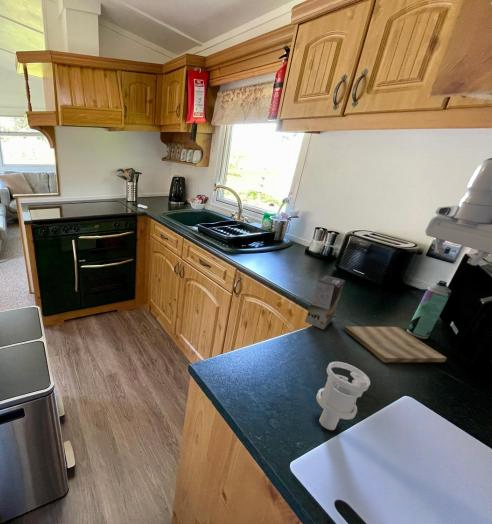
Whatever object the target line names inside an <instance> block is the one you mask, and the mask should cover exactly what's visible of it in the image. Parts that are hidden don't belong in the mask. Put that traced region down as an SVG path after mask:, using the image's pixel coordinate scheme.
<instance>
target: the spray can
mask: <svg viewBox="0 0 492 524" xmlns="http://www.w3.org/2000/svg"><path fill="white" fill-rule="evenodd" d="M447 284H448V282H447V281H445V280H439V281H438V282H437V283H435V284H434V283H433V284H429V285H428V286H427V288H426V290H425V292H424V294H423V296H422V298H421V299H420V302H419V305H418V306H417V308H416V311H415V313H414V315H413V316H412V319H411V321H410V323H409V325H408V327H407V329H406V332H407V333H408V334H410V335H411V336H413V337H415V338H417V339H418V338H419V339H422V340H423V339H424V340H426V339H428V338H429V336H430V334H431V332H432V330H433V329H434V327H435V325H436V323H437V321H438V319H439V317H440V315H441V314H442V312H443V310H444V307H445V306H446V304H447V303H448V300H449V298H450V296H451V294H452V290H451V289H449V286H448V285H447Z"/></svg>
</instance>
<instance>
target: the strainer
mask: <svg viewBox="0 0 492 524" xmlns="http://www.w3.org/2000/svg"><path fill="white" fill-rule="evenodd" d="M333 368H339V369H343V370H347V371H349V372H350V373H349V375H350V376H351V378H353V379H352V380H351V382H350V381H349V377H348V376H344V375H341V374H337V373H335V372H333V370H332V369H333ZM326 374H327V377H326V378H327V380H326V382H325V385H324V387H322V388H320V389H318V392H317V394H316V397H315V398H316V402H317V404H318V405H319V406H320V407H321V408H322V409H323V411H322V412H321V415H320V417H319V418H318V419H319V424H320V425H321V426H322V427H323V428H325V429H326V430H329V431H335V430H336V428H337V426H338V424H339V421H340V420H353V419H355V417H356V415H357V413H358V407H357V405H356V403H357V400H358V398H361V397H362V396H363V393H364V392H366V391H368V389H369V387H370V386H371V380H370V377H369V376H368V375H367V374H366V373H365V372H364V371H362V370H361V369H359V368H357V366H354V365H352V364H349V363H347V362H343V361H331V362H329V364H328V365H327V368H326Z"/></svg>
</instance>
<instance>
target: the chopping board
mask: <svg viewBox="0 0 492 524" xmlns="http://www.w3.org/2000/svg"><path fill="white" fill-rule="evenodd" d="M343 331H344V332H346V333H347V334H348V335H349V336H351V338H353V339H354V340H356V341H357V342H358V343H359V344H361V345H362V346H363V347H364V348H366V349H367V350H368V351H369V352H371V354H373V355H374V356H375V357H377V358H378V359H379V360H380V361H382V362H383V363H445V362H446V361H447V359H448V358H447V357H446V356H445V355H443V354H442V353H440V352H438V351H437V350H435V349H433V348H432V347H431V346H429V345H427V344H426V343H424V342H423V341H421V340H420V339H418V338H417V337H416V336H413V335H411V334H410V333H408V332H407V331H405V330H404V329H402V328H400V327H399V326H353V325H350V326H349V325H348V326H347V325H345V327H344V329H343Z"/></svg>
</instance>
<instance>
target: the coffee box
mask: <svg viewBox="0 0 492 524" xmlns="http://www.w3.org/2000/svg"><path fill="white" fill-rule="evenodd" d="M345 284H346V280H345V279H341V278H338V277H334V276H331V275H328V274H325V275H324V276H322V277H321V278H319V280H317V283H316V286H315V289H314V292H313V295H312V298H311V301H310V304H309V307H308V310H307V314H306V316H305V319H304V322H305V323H306V324H308V325H311V326H313V327H316V328H319V329H321V330H325V329H326V327H327V326H328V325H329V324H330V323H331V322H332V319H333V317H334V314H335V311H336V308H337V306H338V302H339V300H340V298H341V295H342V292H343V289H344V286H345Z"/></svg>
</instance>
